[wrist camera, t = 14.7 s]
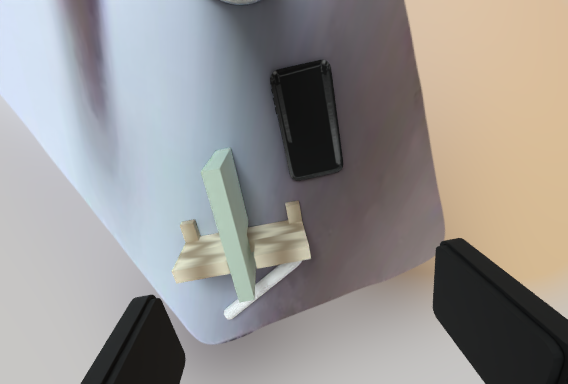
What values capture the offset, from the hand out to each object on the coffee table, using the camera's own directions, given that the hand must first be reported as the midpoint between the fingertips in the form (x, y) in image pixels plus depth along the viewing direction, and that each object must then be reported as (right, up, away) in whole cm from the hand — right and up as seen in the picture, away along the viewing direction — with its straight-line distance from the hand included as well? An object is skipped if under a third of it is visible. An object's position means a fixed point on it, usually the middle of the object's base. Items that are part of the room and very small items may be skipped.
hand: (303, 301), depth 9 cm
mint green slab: (-8, +1, +32) cm, 32 cm away
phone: (+3, +13, +28) cm, 31 cm away
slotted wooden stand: (-7, -3, +33) cm, 34 cm away
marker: (-4, -12, +38) cm, 40 cm away
